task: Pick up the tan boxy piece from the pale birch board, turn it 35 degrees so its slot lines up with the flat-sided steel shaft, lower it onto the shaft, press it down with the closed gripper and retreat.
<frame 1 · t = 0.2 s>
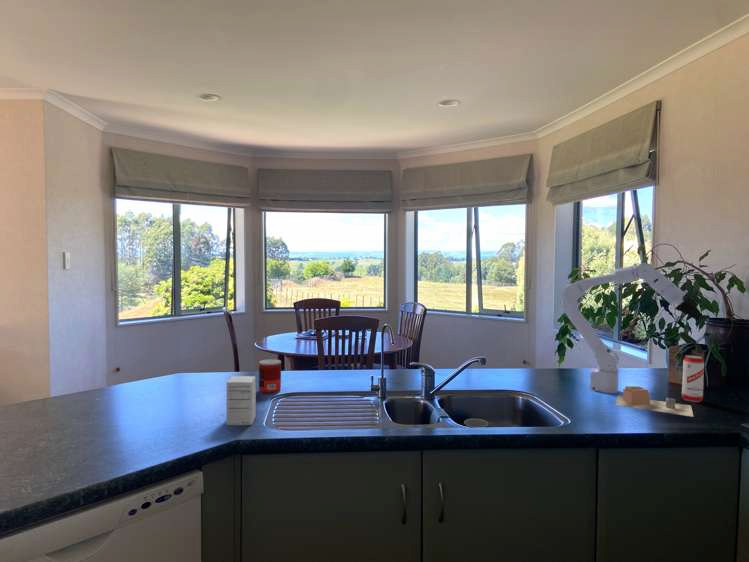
hand: (699, 317, 160), 31 cm above the worktop, tool tilted 45°, fingers open, 7 cm apart
beer can: (691, 400, 169), on the worktop
canned food: (269, 391, 171), on the worktop
supplement box: (241, 421, 138), on the worktop
tan boxy piece: (636, 402, 161), point 1 cm above the worktop, touching board
board: (652, 408, 158), on the worktop
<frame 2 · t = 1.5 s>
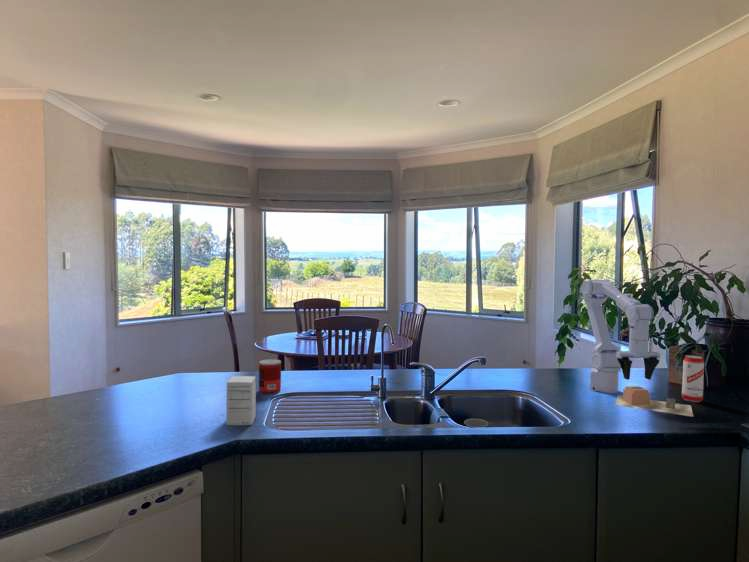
hand: (637, 378, 160), 9 cm above the worktop, tool pointing down, fingers open, 7 cm apart
nothing on the worktop moved.
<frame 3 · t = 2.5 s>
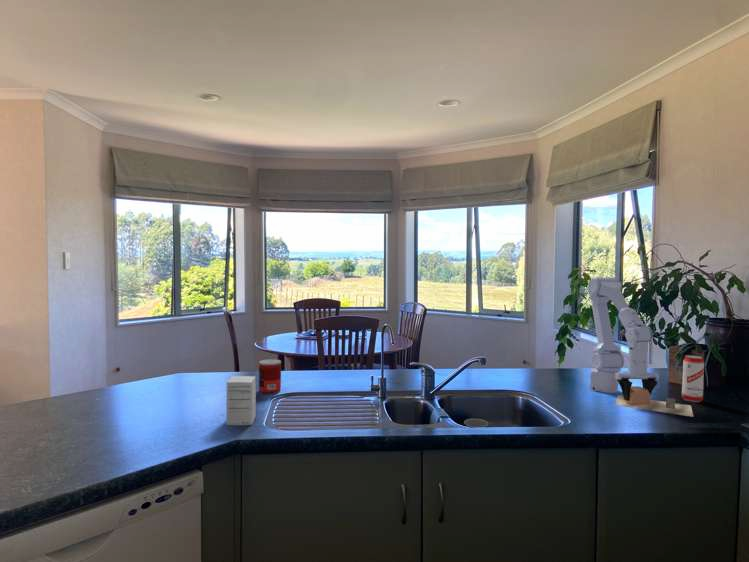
hand: (636, 400, 161), 2 cm above the worktop, tool pointing down, fingers closed on tan boxy piece, 6 cm apart
tan boxy piece: (636, 402, 161), point 1 cm above the worktop, touching board, gripper
everything else where it was.
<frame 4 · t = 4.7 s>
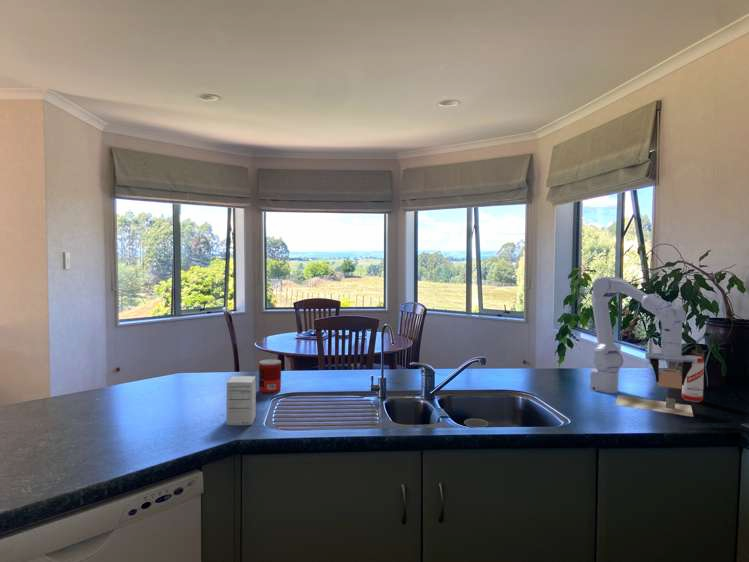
hand: (669, 382, 155), 9 cm above the worktop, tool pointing down, fingers closed on tan boxy piece, 6 cm apart
tan boxy piece: (669, 385, 155), point 9 cm above the worktop, touching gripper
everything else where it was.
when the fingers open (3 cm above the worktop, at t = 6.9 s): tan boxy piece drops 1 cm, resting on board.
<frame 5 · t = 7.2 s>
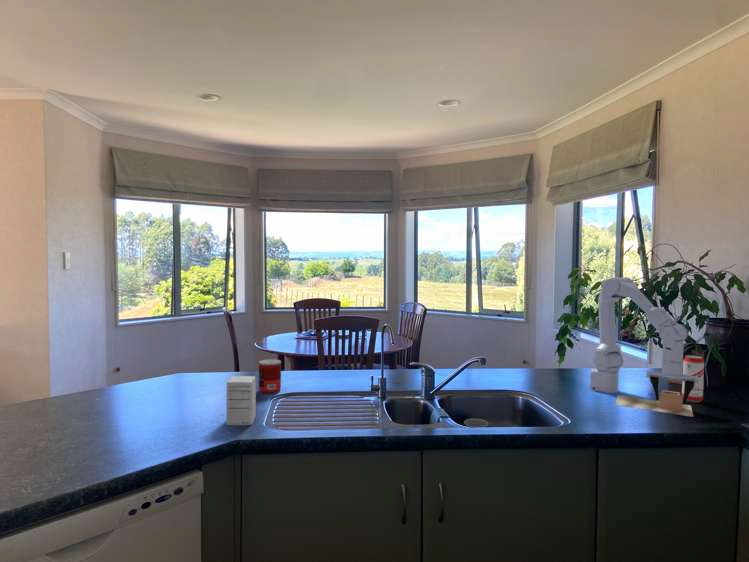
hand: (670, 401, 155), 3 cm above the worktop, tool pointing down, fingers open, 7 cm apart
tan boxy piece: (670, 407, 155), point 1 cm above the worktop, touching board
everything else where it was.
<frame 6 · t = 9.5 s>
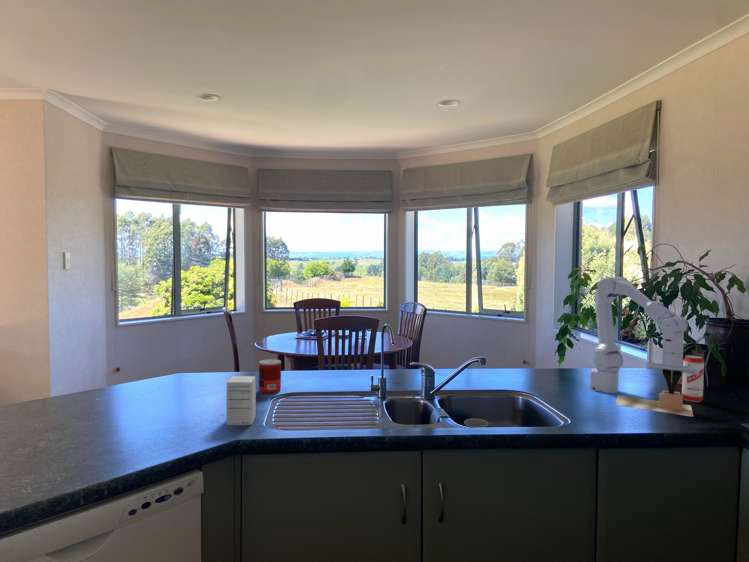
hand: (671, 393, 155), 6 cm above the worktop, tool pointing down, fingers closed, pressing on tan boxy piece
tan boxy piece: (670, 407, 155), point 1 cm above the worktop, touching board, gripper
everything else where it was.
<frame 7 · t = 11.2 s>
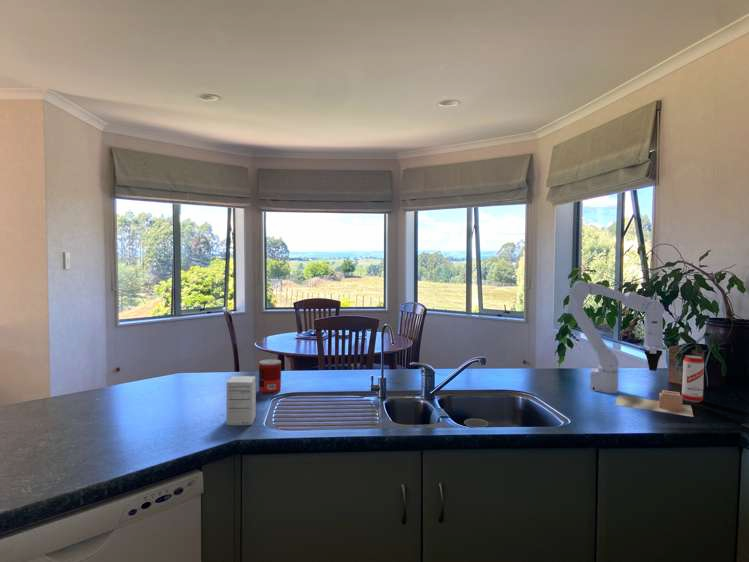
hand: (652, 370, 170), 10 cm above the worktop, tool pointing down, fingers closed
tan boxy piece: (670, 407, 155), point 1 cm above the worktop, touching board
everything else where it was.
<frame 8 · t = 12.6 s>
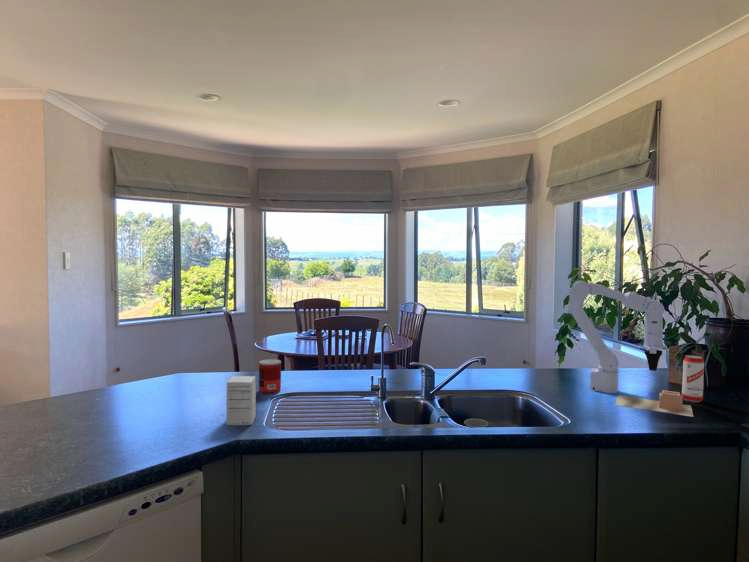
hand: (652, 370, 170), 10 cm above the worktop, tool pointing down, fingers closed
nothing on the worktop moved.
at the end: tan boxy piece 0.1 cm from the target spot on the board, point 1.2 cm above the board's base; tan boxy piece tilted 0°; the gripper is holding nothing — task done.
